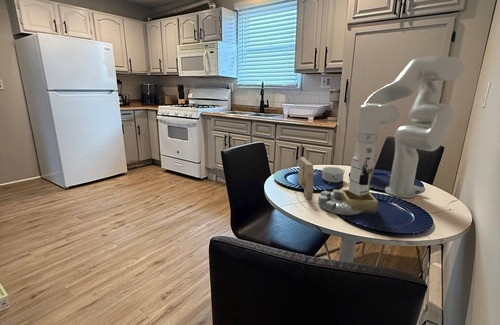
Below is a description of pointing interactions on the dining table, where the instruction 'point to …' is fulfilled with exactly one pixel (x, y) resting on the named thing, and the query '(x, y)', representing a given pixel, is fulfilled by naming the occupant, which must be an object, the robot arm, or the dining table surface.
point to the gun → (306, 177)
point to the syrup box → (355, 177)
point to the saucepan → (332, 174)
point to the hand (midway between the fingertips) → (359, 180)
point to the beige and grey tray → (347, 203)
